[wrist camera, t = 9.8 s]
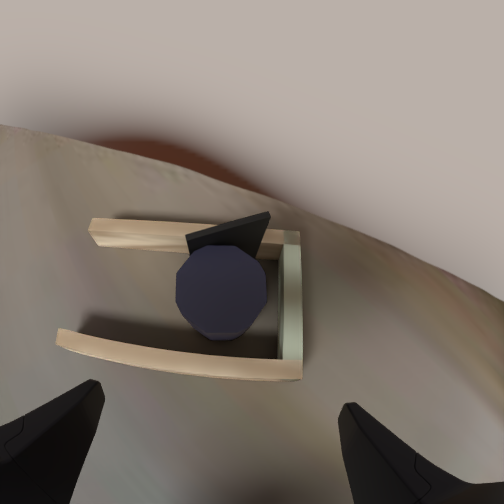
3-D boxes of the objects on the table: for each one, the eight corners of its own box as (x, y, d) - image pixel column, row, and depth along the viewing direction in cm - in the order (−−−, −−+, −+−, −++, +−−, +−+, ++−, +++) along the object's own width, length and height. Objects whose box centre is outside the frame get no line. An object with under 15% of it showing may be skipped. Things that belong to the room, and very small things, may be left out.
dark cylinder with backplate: (190, 263, 26) (177, 201, 17) (251, 265, 27) (270, 205, 17) (186, 343, 23) (164, 326, 14) (251, 345, 24) (275, 329, 14)
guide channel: (293, 381, 21) (302, 379, 19) (71, 351, 21) (55, 344, 18) (293, 248, 28) (299, 231, 25) (102, 234, 27) (92, 218, 25)
